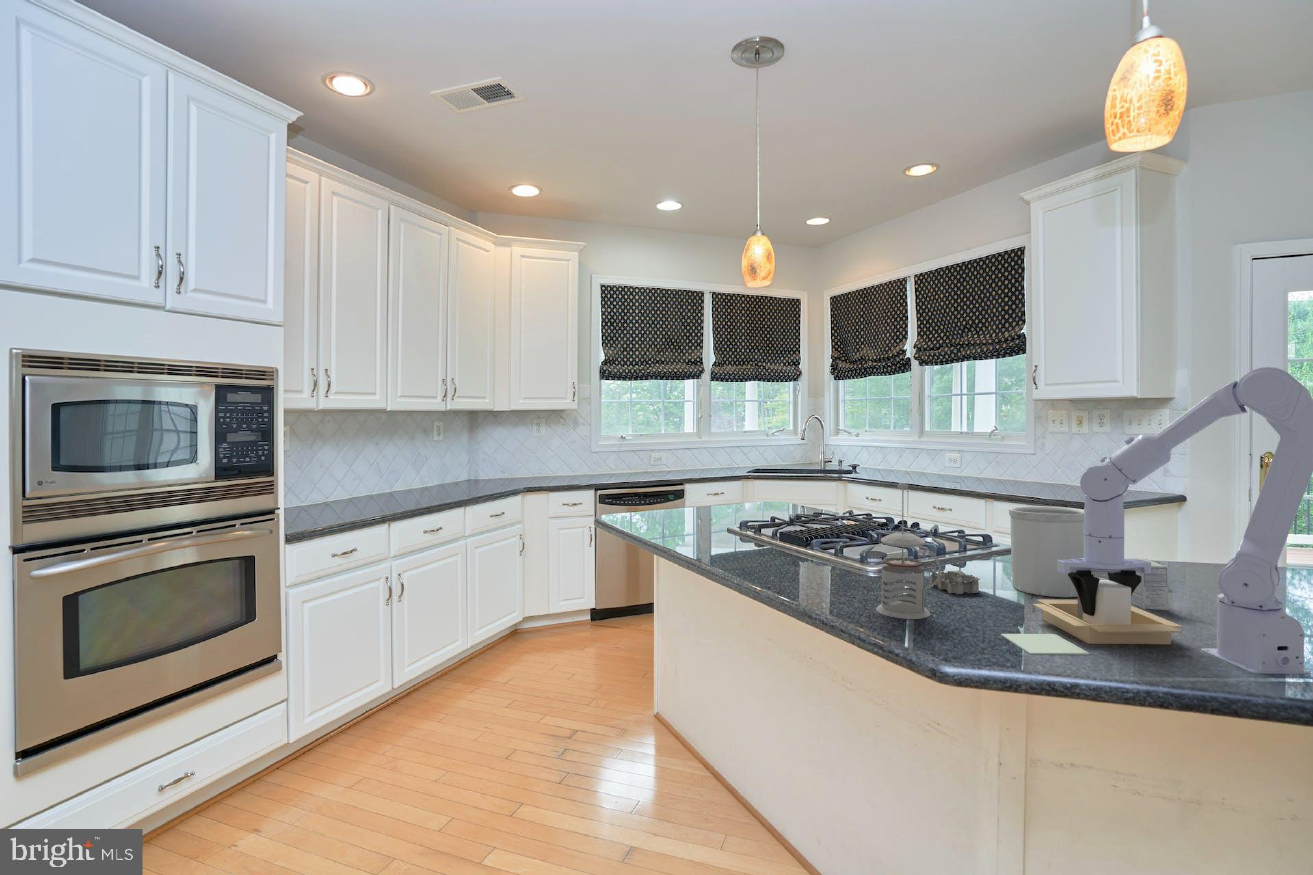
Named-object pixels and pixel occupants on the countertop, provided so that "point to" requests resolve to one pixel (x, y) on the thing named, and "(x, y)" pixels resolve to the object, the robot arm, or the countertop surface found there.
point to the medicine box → (1152, 588)
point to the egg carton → (955, 581)
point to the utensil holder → (1045, 548)
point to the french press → (904, 577)
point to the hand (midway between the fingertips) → (1103, 614)
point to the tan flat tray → (1108, 625)
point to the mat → (1044, 644)
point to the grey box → (1109, 604)
